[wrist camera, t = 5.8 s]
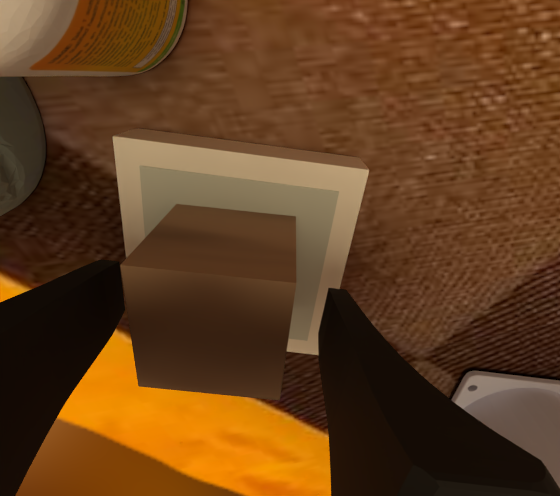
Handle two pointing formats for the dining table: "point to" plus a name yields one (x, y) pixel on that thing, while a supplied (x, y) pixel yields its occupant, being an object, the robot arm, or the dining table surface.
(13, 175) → the green plant pot
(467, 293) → the dining table surface
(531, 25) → the dining table surface
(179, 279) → the walnut block
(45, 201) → the dining table surface
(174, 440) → the dining table surface
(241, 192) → the tile base
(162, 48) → the supplement bottle
